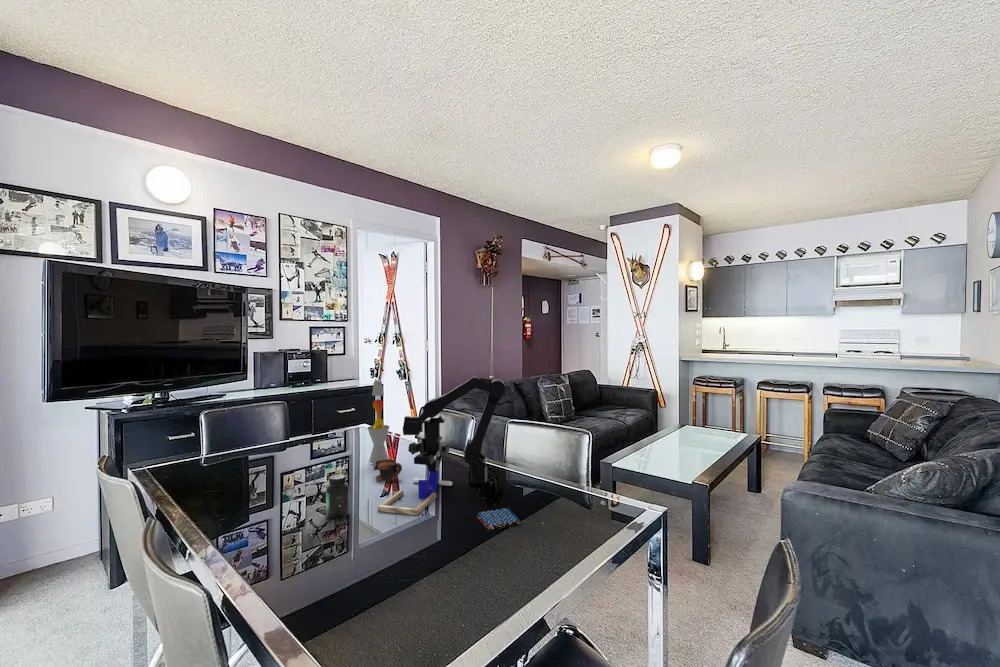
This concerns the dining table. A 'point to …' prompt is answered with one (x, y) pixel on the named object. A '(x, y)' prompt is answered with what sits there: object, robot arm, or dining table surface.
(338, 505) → the supplement bottle
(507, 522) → the woven mat
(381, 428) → the lava lamp
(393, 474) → the pottery mug
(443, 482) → the white peg
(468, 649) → the dining table surface
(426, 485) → the cable clip
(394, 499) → the frame
